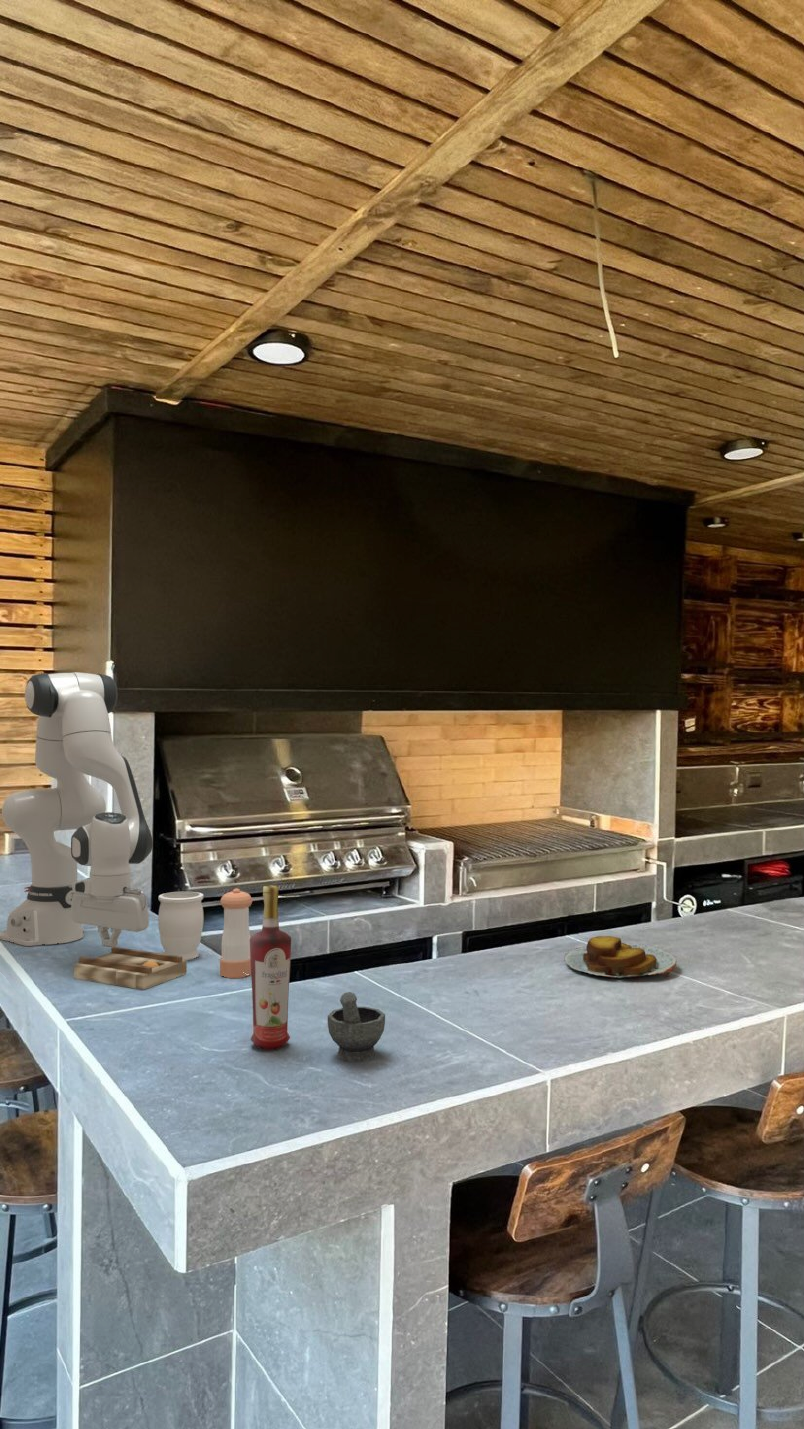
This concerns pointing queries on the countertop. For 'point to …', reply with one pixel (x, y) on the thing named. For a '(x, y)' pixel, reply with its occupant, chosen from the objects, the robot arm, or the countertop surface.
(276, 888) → the liquor
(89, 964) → the lane board
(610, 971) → the food on plate
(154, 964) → the ball
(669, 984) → the countertop surface
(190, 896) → the jar
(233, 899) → the pepper shaker
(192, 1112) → the countertop surface
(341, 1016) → the mortar and pestle
